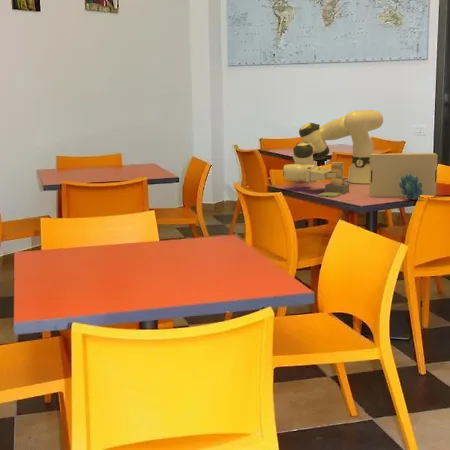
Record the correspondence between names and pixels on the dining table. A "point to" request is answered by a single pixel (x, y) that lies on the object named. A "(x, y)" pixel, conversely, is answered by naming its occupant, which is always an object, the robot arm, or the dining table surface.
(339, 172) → the block
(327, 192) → the mat
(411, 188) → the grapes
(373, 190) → the packaging
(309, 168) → the robot arm
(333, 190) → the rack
